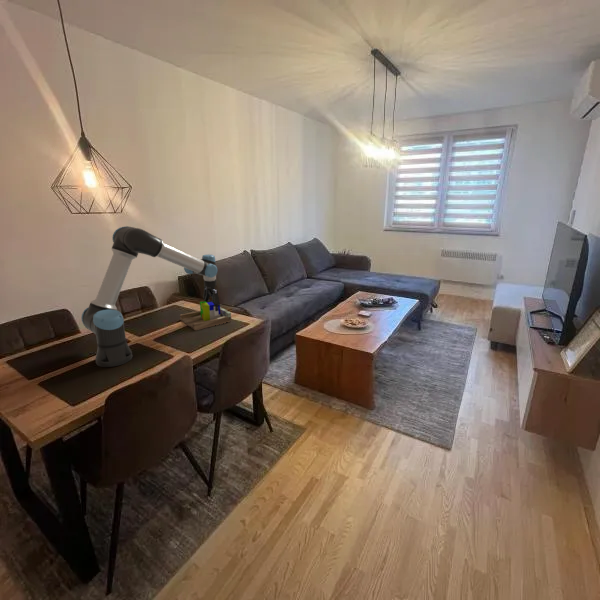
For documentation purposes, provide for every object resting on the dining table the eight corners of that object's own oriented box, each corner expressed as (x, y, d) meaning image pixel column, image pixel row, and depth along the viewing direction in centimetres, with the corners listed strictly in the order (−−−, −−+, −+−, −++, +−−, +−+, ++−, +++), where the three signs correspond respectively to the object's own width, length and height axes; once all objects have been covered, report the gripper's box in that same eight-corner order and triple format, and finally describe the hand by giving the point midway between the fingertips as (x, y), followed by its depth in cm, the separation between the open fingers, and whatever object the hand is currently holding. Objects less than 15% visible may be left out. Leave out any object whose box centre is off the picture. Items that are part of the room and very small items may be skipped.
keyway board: (231, 321, 207) (230, 312, 205) (195, 330, 192) (194, 320, 190) (214, 312, 223) (214, 303, 221) (180, 320, 207) (179, 310, 206)
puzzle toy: (220, 319, 207) (219, 304, 205) (204, 321, 203) (203, 306, 200) (216, 314, 216) (215, 299, 213) (200, 316, 211) (199, 301, 208)
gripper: (224, 282, 196) (226, 316, 203) (207, 275, 213) (209, 307, 220) (213, 284, 192) (215, 319, 198) (196, 277, 208) (198, 309, 215)
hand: (212, 313), depth 209 cm, fingers open, 11 cm apart
